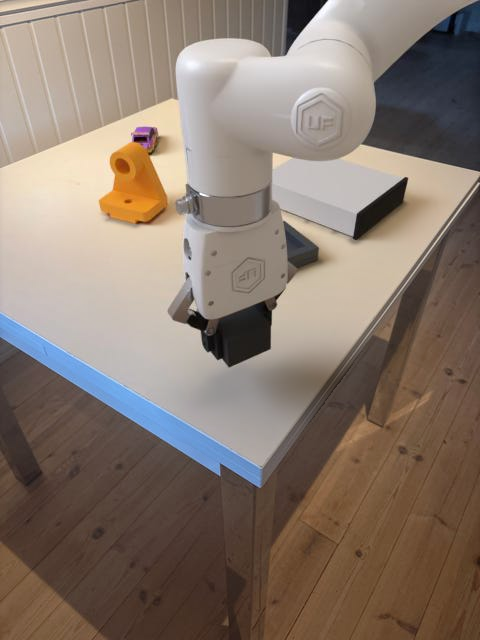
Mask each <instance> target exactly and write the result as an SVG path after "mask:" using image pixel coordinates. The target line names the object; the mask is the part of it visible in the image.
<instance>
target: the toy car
mask: <svg viewBox="0 0 480 640" xmlns="http://www.w3.org/2000/svg"><path fill="white" fill-rule="evenodd" d="M130 137H132V138H131V142H136V143H139V144H141V145H142V146H143V147H144V148H145V149H146V150H147V152H148V154H151V153H152V152H154V151H155V146H157V144H158V141H159V130H158V128H157V127H156V126H137V127H136V128H135V130H134V132H131V133H130Z"/></svg>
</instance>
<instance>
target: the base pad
mask: <svg viewBox="0 0 480 640" xmlns="http://www.w3.org/2000/svg"><path fill="white" fill-rule="evenodd" d="M283 224H284V229H285V236H286V246H287V261H289V262H290V263H291V264H292V265H293V266H295V267H296V268H297V269H298V268H300V267H303V266H305V265H308V264H312V263H313V262H317V261H318V260H319V251H320V247H319V246H318V245H317V244H315V243H314V242H313V241H312V240H310V239H309V238H308V237H306V236H305V235H304V234H302V233H301V232H300V231H299V230H297V229H296V228H295V227H293V226H292V225H291V224H289V223H288V222H287V221H286V220H283Z"/></svg>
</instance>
